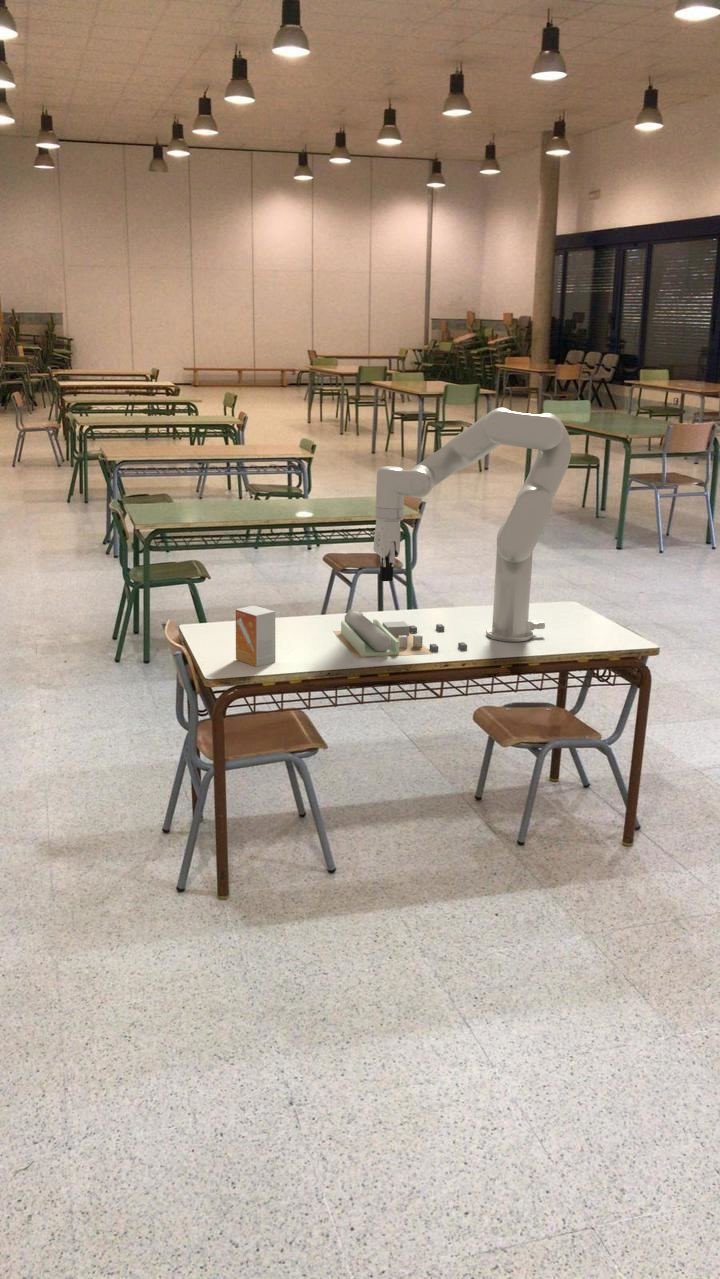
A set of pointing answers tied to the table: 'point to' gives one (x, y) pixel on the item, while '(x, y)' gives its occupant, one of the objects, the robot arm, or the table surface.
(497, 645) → the table surface
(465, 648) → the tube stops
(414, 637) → the bench dogs
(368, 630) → the tube
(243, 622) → the small box
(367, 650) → the tray
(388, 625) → the grey faceted block
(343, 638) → the board
